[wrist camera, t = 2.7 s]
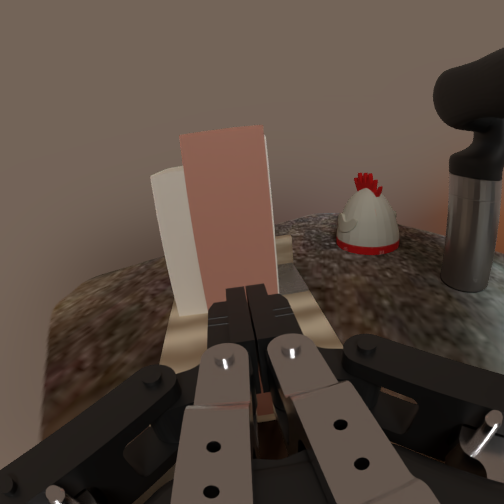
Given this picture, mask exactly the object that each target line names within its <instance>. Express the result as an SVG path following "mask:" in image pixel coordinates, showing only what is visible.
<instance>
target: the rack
mask: <svg viewBox="0 0 504 504" xmlns="http://www.w3.org/2000/svg"><path fill="white" fill-rule="evenodd" d="M275 242H276V255H277V265H279V264H285V263H293V253H292V237H291V236H290V235H283V236H276V237H275ZM282 296H284V297H285V298H287V299H288V302H289V304H290V306H291V308H292V310H293V313H294V315H295V317H296V319H297V321H298V324H299V326H300V328H301V330H302V332H303V335H305V336H307V337H309V338H310V339H311V340H312V341H313V342H314V344H315V345H316V346H317V347H321V348H332V349H343V346H342V344H341V343H340V341H339V339H338V337H337V336H336V334H335V332H334V331H333V329H332V327H331V326H330V324H329V322H328V321H327V319H326V317H325V316H324V314H323V312H322V311H321V309H320V307H319V306H318V304H317V302H316V301H315V299H314V297H313V296H312V294H311V293H310V291H309V289H308V291H305V292H299V293H293V294H286V295H282ZM207 328H208V313H204V314H195V315H187V316H179V313H178V309H177V305H176V301H175V298H174V302H173V307H172V311H171V315H170V319H169V323H168V328H167V332H166V337H165V341H164V346H163V350H162V355H161V360H160V365H166V366H168V367H170V368H172V369H173V370H174V371H175V373H176V374H177V373H181V372H184V371H187V370H190V369H192V368H194V367H196V366H197V365H199V364H200V360H201V356H202V354H203V353H204V352H205V351H206V350H207ZM257 419H258V422H265V421H271V420H276V417H275V414H268V415H262V416H257ZM149 426H151V425H149Z"/></svg>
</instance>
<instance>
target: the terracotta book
mask: <svg viewBox="0 0 504 504" xmlns="http://www.w3.org/2000/svg"><path fill="white" fill-rule="evenodd" d="M179 138H180V146H181V154H182V162H183V169H184V176H185V183H186V190H187V197H188V203H189V210H190V216H191V222H192V228H193V234H194V240H195V246H196V252H197V257H198V263H199V268H200V273H201V279H202V284H203V289H204V294H205V299H206V304H207V309H208V310H209V308H210V307H211V306H212V304H213V303H215V302H223V301H226V288H234V287H241V286H244V289H245V294H246V287H245V286H248V285H255V284H262V283H264V285H265V288H266V291H267V293H268V295H272V294H279V281H278V268H277V255H276V242H275V230H274V219H273V207H272V196H271V185H270V175H269V166H268V165H269V164H268V154H267V146H266V145H267V144H266V136H264V132H263V125H254V126H244V127H234V128H225V129H218V130H210V131H203V132H196V133H190V134H183V135H179ZM246 299H247V296H246ZM258 369H259V368H258ZM259 377H260V373H259ZM260 385H261V394H256V395H257V402H258V406H257V409H256V410H257V416H262V415H268V414H274V412H273V405H272V397H271V393H270V392H266V393H263V388H262V383H261V378H260Z"/></svg>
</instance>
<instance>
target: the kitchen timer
mask: <svg viewBox="0 0 504 504" xmlns="http://www.w3.org/2000/svg"><path fill="white" fill-rule="evenodd" d="M354 181H355V184H356V188H357V191H358V192H356V193H355V194H354V195H353V196H352V197H351V198H350V199H349V201H348V202H347V204H346V206H345V208H344V210H343V212H342V213H340V214H339V216H338V229H337V245H338V246H339V247H340V248H341V249H343V250H346V251H348V252H352V253H356V254H364V255H379V254H386V253H389V252H393V251H394V250H396V249H397V248H398V246H399V230H398V225H397V221H396V211H393V210H392V207H391V205H390V204H389V202H388V201H387V199H386V198H385V197H384V196H383V195H382V194H381V192H382V187H379V188H378V189H377V183H378V180H374V181H373V176H372V173H371V174H367V173H364V175H363V176H362V173H358V178H354Z"/></svg>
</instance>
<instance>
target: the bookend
mask: <svg viewBox="0 0 504 504" xmlns="http://www.w3.org/2000/svg"><path fill="white" fill-rule="evenodd" d="M277 268H278V281H279V294H281V295H286V294H293V293H299V292H305V291H308V287H307V285H306V284H305V282H304V280H303V279H302V277H301V276H300V274H299V272H298V271H297V269H296V268H295V266H294V264H293V263H285V264H279V265H277Z"/></svg>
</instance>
